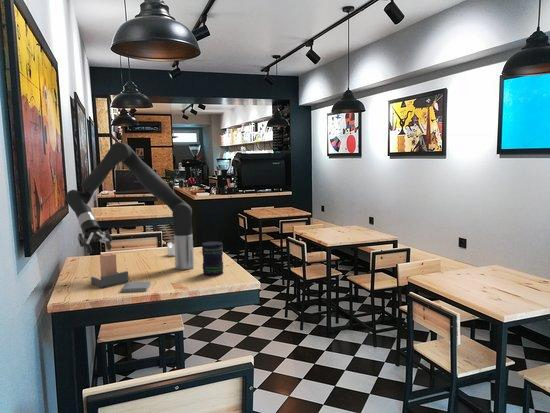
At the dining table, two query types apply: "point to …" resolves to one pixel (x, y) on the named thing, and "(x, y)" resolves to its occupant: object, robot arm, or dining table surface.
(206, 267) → the storage jar
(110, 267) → the terracotta block
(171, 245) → the bracket
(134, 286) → the slate pad
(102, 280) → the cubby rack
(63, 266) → the dining table surface
